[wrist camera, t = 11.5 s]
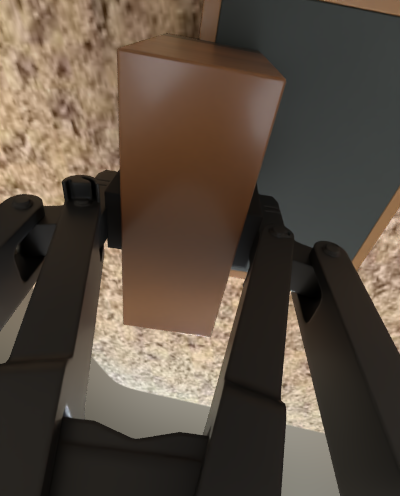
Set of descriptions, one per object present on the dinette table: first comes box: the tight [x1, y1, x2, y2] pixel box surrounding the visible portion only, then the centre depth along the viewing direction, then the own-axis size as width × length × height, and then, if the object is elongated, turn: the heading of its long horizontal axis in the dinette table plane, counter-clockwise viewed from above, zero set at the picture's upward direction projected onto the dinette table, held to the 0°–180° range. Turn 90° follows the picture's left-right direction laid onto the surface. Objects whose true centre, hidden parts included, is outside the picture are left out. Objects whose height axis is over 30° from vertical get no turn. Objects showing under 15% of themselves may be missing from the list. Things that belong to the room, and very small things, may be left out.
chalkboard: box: [199, 0, 400, 279], centre depth 18 cm, size 18×14×1 cm
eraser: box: [117, 33, 286, 337], centre depth 15 cm, size 12×5×8 cm, turn 172°
